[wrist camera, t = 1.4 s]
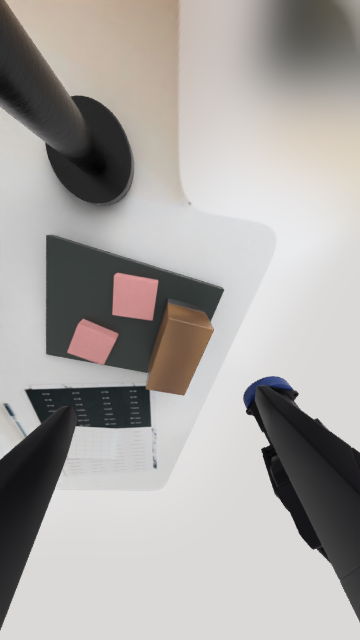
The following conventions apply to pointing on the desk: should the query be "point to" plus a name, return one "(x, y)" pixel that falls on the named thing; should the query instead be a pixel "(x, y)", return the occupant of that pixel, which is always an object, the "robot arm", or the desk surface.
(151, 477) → the desk surface
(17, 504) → the robot arm
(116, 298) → the crumb
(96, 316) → the slate
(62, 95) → the desk lamp
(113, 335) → the crumb
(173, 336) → the brown block
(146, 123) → the desk surface
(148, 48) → the desk surface
